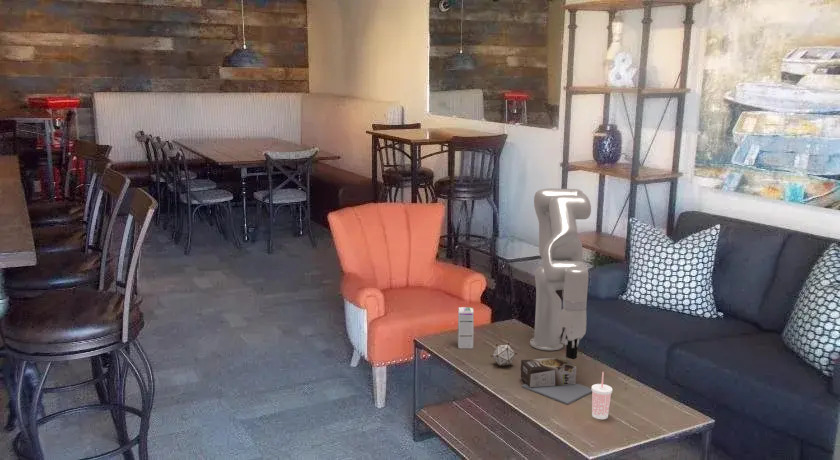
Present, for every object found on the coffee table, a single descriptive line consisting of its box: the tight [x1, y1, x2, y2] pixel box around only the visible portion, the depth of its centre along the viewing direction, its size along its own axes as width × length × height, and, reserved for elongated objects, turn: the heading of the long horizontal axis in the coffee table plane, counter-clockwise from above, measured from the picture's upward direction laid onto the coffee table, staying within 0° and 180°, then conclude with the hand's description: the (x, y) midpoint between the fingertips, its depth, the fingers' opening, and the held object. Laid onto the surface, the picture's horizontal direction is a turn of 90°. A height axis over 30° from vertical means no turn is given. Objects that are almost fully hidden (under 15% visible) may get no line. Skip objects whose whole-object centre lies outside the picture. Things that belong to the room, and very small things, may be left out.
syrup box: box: [457, 306, 475, 350], centre depth 273 cm, size 6×6×14 cm
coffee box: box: [520, 356, 577, 387], centre depth 242 cm, size 9×6×16 cm
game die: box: [490, 342, 518, 368], centre depth 256 cm, size 9×8×10 cm
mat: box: [521, 382, 592, 406], centre depth 237 cm, size 15×18×1 cm
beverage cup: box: [591, 371, 613, 420], centre depth 217 cm, size 6×6×14 cm
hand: (571, 357), depth 240 cm, fingers closed
